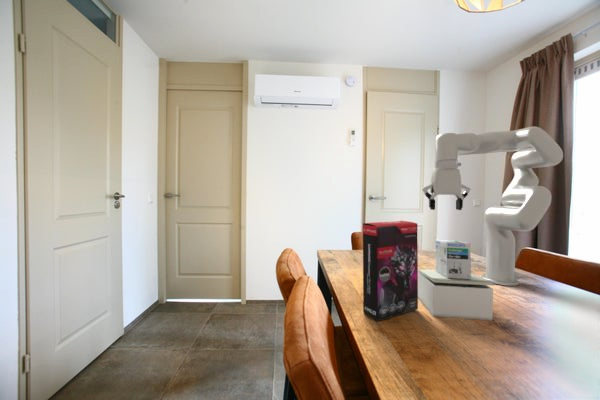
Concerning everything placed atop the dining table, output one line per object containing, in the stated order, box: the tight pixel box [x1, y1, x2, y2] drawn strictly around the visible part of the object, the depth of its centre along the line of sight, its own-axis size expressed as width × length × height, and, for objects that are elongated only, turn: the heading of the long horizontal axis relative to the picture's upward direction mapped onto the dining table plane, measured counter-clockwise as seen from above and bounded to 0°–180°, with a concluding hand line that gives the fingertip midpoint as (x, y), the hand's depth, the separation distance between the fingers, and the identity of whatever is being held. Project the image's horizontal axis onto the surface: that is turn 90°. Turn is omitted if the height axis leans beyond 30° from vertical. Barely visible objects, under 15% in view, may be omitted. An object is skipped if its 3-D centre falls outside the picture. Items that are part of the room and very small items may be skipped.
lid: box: [418, 268, 494, 286], centre depth 80 cm, size 16×14×1 cm
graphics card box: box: [362, 220, 419, 322], centre depth 77 cm, size 17×7×27 cm, turn 117°
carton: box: [418, 272, 494, 321], centre depth 80 cm, size 16×14×9 cm
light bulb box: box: [435, 238, 472, 279], centre depth 81 cm, size 11×7×11 cm, turn 169°
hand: (445, 209), depth 100 cm, fingers open, 9 cm apart
